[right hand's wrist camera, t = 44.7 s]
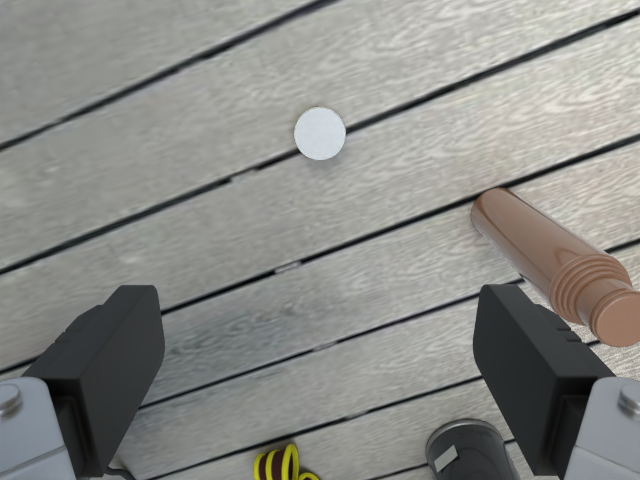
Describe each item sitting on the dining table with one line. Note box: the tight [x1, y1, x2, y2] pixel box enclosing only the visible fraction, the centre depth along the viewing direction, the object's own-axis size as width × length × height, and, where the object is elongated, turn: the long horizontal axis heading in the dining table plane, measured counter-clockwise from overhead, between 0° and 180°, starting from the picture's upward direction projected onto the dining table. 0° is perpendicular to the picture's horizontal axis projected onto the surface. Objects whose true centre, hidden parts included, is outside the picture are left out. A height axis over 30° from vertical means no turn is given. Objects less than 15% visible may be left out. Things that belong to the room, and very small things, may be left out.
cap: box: [294, 106, 346, 160], centre depth 41 cm, size 5×5×2 cm
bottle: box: [471, 188, 640, 347], centre depth 35 cm, size 5×5×20 cm
